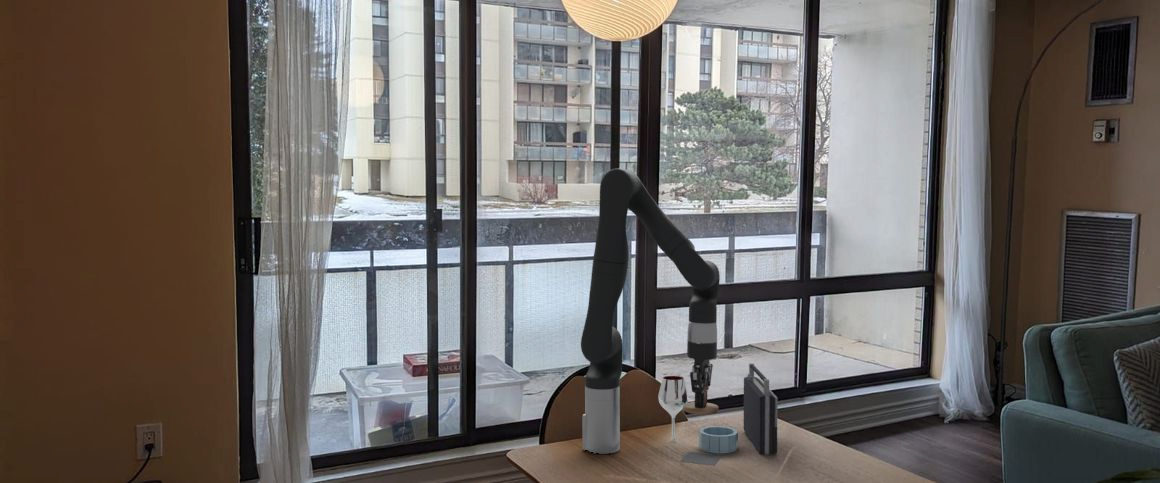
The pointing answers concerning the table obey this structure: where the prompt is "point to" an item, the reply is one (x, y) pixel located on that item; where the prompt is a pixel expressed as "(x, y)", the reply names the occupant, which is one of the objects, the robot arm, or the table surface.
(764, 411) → the radio
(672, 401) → the wineglass
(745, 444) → the table surface
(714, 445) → the bowl
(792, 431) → the table surface
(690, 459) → the mat
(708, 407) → the lid
